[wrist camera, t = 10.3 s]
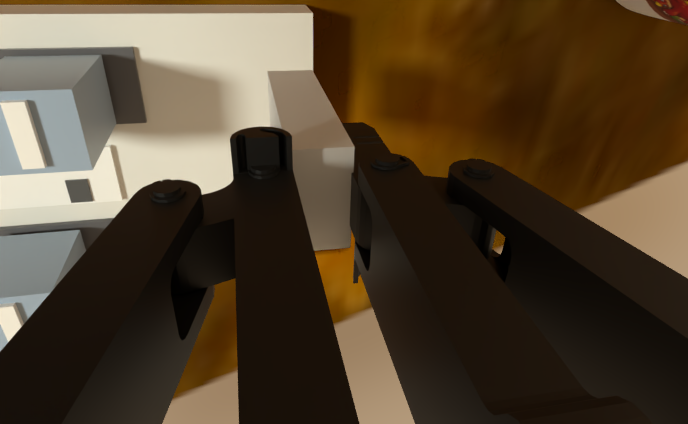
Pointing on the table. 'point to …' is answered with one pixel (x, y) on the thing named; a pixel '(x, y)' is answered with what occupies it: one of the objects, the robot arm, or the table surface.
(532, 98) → the table surface
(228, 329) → the table surface
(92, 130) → the tab near
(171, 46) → the switch board
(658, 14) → the milk bottle
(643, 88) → the table surface
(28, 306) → the tab far
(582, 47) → the table surface
